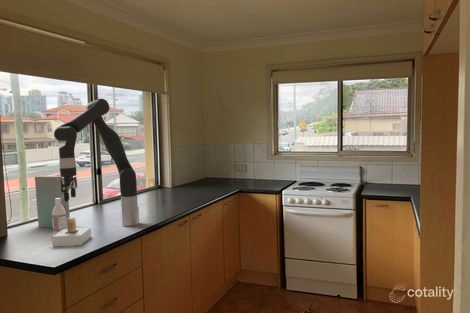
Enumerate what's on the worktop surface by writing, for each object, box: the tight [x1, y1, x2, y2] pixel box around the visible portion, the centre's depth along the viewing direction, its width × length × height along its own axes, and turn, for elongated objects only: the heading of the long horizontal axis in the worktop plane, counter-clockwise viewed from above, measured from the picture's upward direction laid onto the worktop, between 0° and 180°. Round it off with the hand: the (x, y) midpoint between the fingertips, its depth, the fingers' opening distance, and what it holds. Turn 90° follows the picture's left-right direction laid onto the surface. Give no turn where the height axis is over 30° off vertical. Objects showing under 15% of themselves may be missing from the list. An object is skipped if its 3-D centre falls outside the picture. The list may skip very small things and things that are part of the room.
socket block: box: [51, 227, 92, 247], centre depth 194 cm, size 14×14×5 cm
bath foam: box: [52, 198, 67, 236], centre depth 207 cm, size 7×7×20 cm
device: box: [34, 174, 71, 229], centre depth 226 cm, size 16×8×30 cm, turn 73°
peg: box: [67, 217, 77, 234], centre depth 194 cm, size 4×4×12 cm
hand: (70, 198), depth 193 cm, fingers open, 8 cm apart
